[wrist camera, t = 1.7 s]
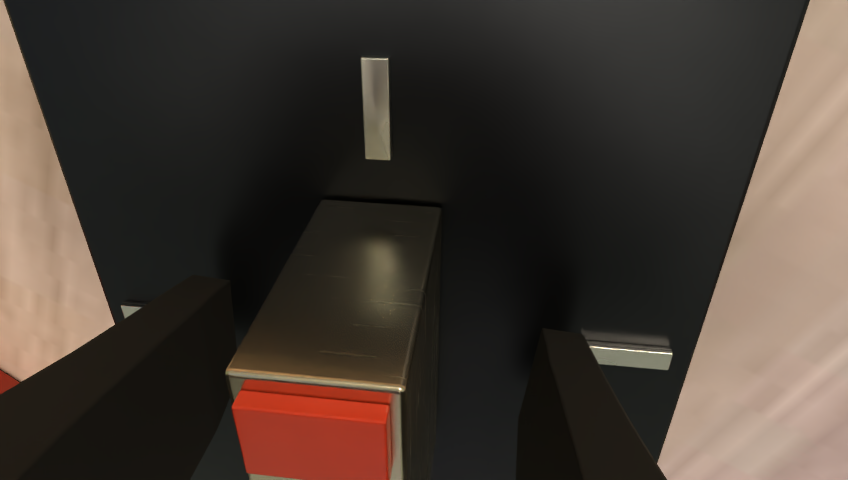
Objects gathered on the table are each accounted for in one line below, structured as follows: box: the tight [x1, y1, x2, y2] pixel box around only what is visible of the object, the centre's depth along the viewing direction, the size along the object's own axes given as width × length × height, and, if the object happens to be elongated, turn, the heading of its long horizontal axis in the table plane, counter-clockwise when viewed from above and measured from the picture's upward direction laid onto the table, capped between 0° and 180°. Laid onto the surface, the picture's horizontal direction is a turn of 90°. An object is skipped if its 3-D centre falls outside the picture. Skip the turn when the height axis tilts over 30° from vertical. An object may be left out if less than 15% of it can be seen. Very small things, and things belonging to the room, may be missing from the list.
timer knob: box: [225, 200, 442, 480], centre depth 8 cm, size 5×2×4 cm, turn 179°
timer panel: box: [4, 0, 810, 480], centre depth 11 cm, size 13×10×3 cm
